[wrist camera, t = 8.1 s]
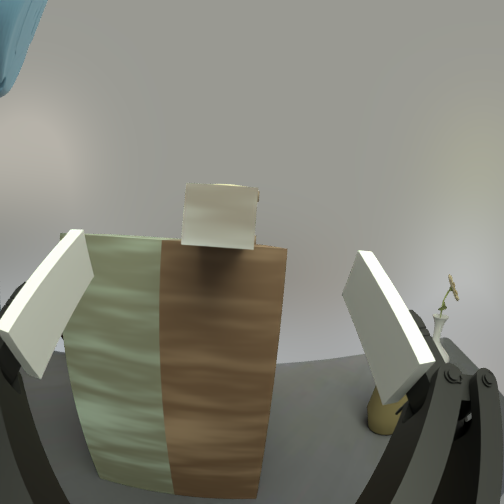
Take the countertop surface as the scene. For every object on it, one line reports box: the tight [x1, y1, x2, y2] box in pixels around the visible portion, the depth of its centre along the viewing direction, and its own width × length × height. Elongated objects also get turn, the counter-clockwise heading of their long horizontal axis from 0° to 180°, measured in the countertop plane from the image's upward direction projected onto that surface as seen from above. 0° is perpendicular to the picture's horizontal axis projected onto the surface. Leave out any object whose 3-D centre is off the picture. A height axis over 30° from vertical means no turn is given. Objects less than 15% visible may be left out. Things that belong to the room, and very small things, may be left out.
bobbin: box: [181, 183, 259, 250], centre depth 24 cm, size 22×7×6 cm, turn 4°
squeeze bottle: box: [367, 386, 408, 435], centre depth 36 cm, size 8×8×18 cm
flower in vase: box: [432, 274, 459, 363], centre depth 60 cm, size 13×11×25 cm
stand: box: [60, 233, 287, 499], centre depth 28 cm, size 14×19×29 cm
